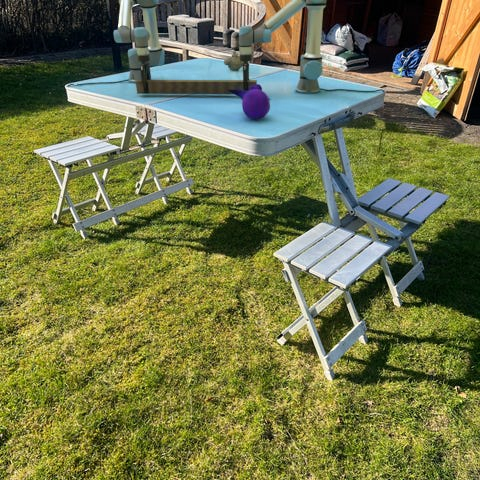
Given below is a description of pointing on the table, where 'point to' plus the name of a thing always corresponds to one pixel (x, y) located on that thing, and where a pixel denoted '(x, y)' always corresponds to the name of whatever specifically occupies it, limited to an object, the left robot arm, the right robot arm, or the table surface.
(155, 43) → the left robot arm
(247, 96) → the toy
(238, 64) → the teapot
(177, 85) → the bar
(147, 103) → the table surface
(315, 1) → the right robot arm
